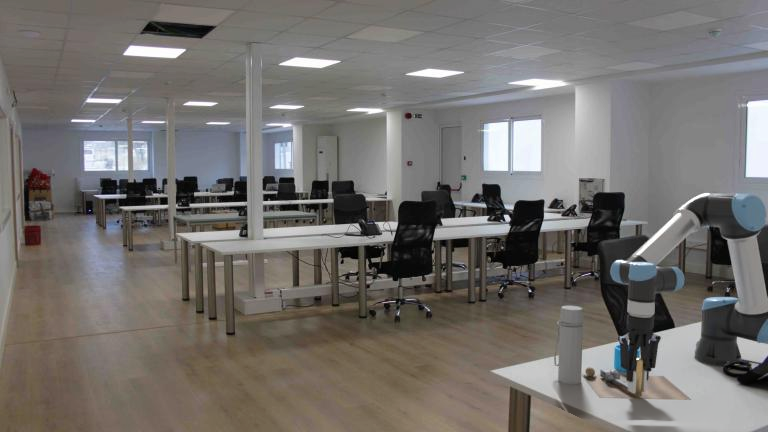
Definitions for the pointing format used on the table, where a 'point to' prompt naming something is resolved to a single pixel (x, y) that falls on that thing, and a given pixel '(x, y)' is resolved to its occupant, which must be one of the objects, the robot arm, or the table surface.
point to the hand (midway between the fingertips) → (636, 391)
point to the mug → (618, 360)
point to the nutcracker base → (654, 390)
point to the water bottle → (570, 344)
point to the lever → (614, 378)
